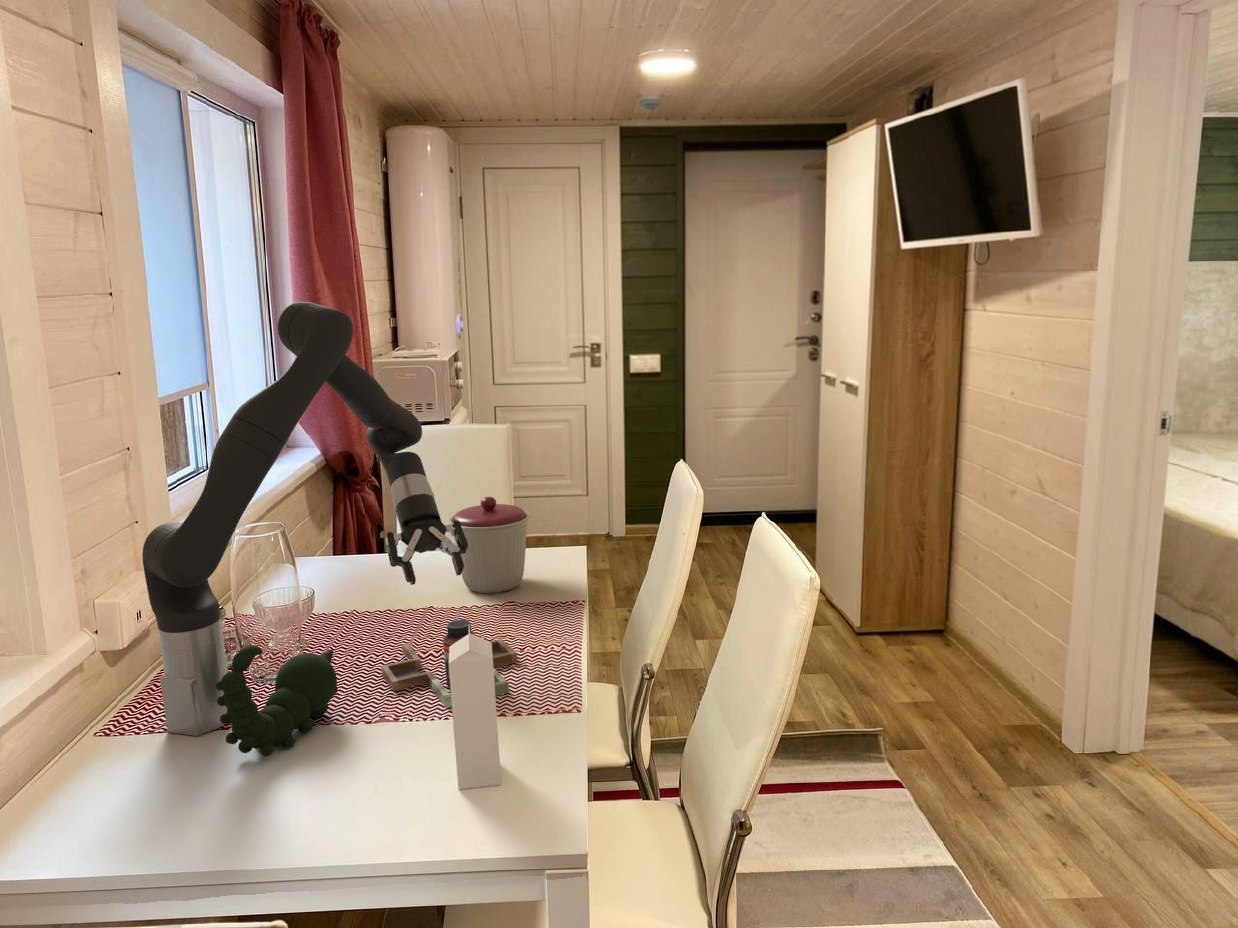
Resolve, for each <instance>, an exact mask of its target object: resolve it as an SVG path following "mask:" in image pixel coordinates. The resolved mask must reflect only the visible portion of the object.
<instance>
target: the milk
mask: <svg viewBox="0 0 1238 928" xmlns="http://www.w3.org/2000/svg"><path fill="white" fill-rule="evenodd" d="M494 669H495V668H494ZM494 669H493V655H492V643H491V642H489V641H488V640H487V639H484V638H482V637H480V636H477V635H476V636H475V635H473V634H470V625H469V634H468V635H466V636H465V637H463V638H462V639H460V640H459V641H457V642H456V643H454V644H453V645H451V646H450V647H449V676H450V688H449V689H450V694H451V702H452V707H451V712H452V713H451V715H452V723H453V724H452V725H453V736H454V737H453V739H454V750H455V764H456V775H457V776H456V777H457V787H458V791H459V790H467V789H468V790H469V789H477V788H486V787H494V786H500V785H502V778H501V777H502V775H501V774H502V773H501V761H500V760H501V757H500V747H499V745H500V744H499V733H498V732H499V730H498V717H497V702H496V696H495V684H494Z"/></svg>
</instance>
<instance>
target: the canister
mask: <svg viewBox="0 0 1238 928" xmlns="http://www.w3.org/2000/svg"><path fill="white" fill-rule="evenodd" d="M530 517H531V516H530V512H528V511H527V510H525V509H523V508H521V507H520V506H517V505H512V504H507V503H505V504H504V503H503V504H502V503H497V500H496V499H495V497H493V496H485V497H483V498H482V499H481V500H480V505H474V506H470V507H466V508H463V509H461V510H459V511H457V512H456V513H455V514H453V515H452V516H450V518H449V519H448V523H449V525H450V524H453V522H454V521H455V520H457V521H459V522H460V525H461V527H462V530H463V532H464V535H465V537H466V540H467V543H468V547H467V550H466V553H464V554H461V557H462V561H463V564H464V569H463V572H462V573H461V577H462V580H463V583H464V585H465V586H466V587H467V588H468V589H469V590H471V591H473V592H476V593H480V594H481V593H482V594H495V593H496V594H497V593H503V592H507V591H511V590H513V589H515V588H516V587H518V586H519V585H520V584H521V582H522V580H523V578H524V573H525V572H524V571H525V563H526V562H525V561H526V547H527V546H526V545H527V542H526V541H527V528H528V527H527V526H528V524H527V521H528V520H529V519H530ZM453 538H454V542H455V543H454V544H455V545H456V546H458V545H457V543H456V540H455V537H454V536H453Z"/></svg>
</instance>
